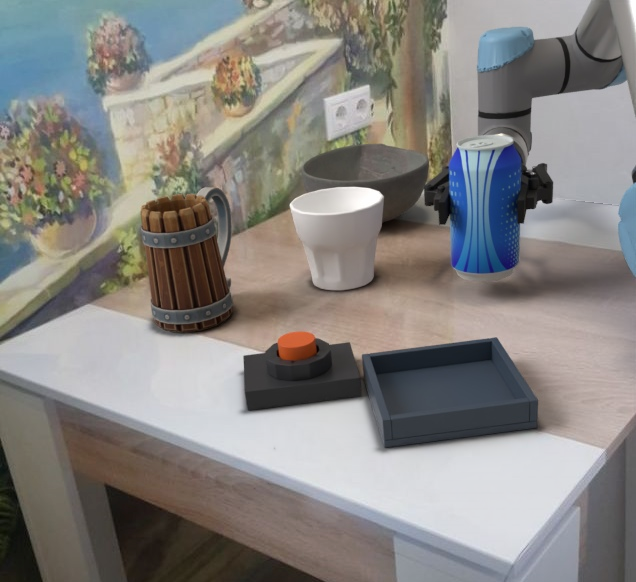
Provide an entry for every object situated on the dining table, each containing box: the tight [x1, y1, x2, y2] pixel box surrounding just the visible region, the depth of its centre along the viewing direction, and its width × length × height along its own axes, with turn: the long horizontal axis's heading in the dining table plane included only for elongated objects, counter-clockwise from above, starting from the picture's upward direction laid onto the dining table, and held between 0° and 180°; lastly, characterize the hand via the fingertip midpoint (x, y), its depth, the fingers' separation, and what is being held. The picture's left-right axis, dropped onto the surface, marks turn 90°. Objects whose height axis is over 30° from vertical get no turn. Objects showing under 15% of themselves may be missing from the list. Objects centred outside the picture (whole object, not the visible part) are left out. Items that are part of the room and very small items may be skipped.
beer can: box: [448, 135, 521, 283], centre depth 107 cm, size 8×8×16 cm
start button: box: [277, 330, 317, 361], centre depth 93 cm, size 4×4×2 cm
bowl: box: [300, 143, 430, 224], centre depth 140 cm, size 20×20×10 cm
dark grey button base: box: [243, 337, 363, 411], centre depth 94 cm, size 12×9×4 cm
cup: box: [289, 187, 384, 292], centre depth 119 cm, size 12×12×11 cm
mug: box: [140, 186, 234, 333], centre depth 113 cm, size 16×11×15 cm
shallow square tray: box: [361, 336, 539, 448], centre depth 88 cm, size 15×15×3 cm
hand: (480, 212), depth 103 cm, fingers closed on beer can, 8 cm apart
